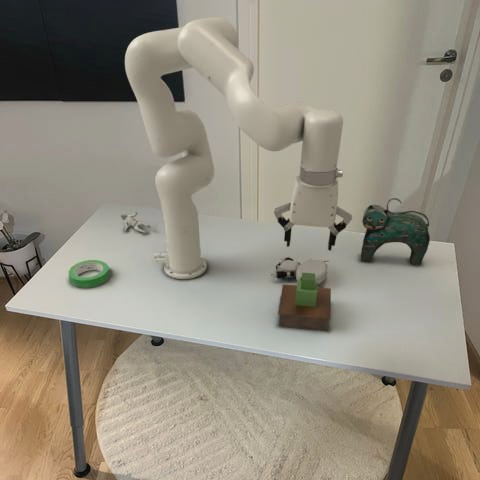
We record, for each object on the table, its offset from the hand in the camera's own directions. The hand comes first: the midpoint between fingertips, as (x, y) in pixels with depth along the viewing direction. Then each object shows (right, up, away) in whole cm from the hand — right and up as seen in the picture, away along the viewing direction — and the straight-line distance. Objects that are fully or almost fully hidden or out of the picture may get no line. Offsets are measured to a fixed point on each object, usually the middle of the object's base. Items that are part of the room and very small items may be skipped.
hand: (308, 245), depth 108 cm
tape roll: (-59, -5, +26) cm, 65 cm away
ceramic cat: (+29, +1, +33) cm, 44 cm away
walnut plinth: (0, -16, +11) cm, 20 cm away
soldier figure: (-52, +14, +49) cm, 73 cm away
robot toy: (+1, -5, +25) cm, 26 cm away
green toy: (+1, -12, +9) cm, 15 cm away
